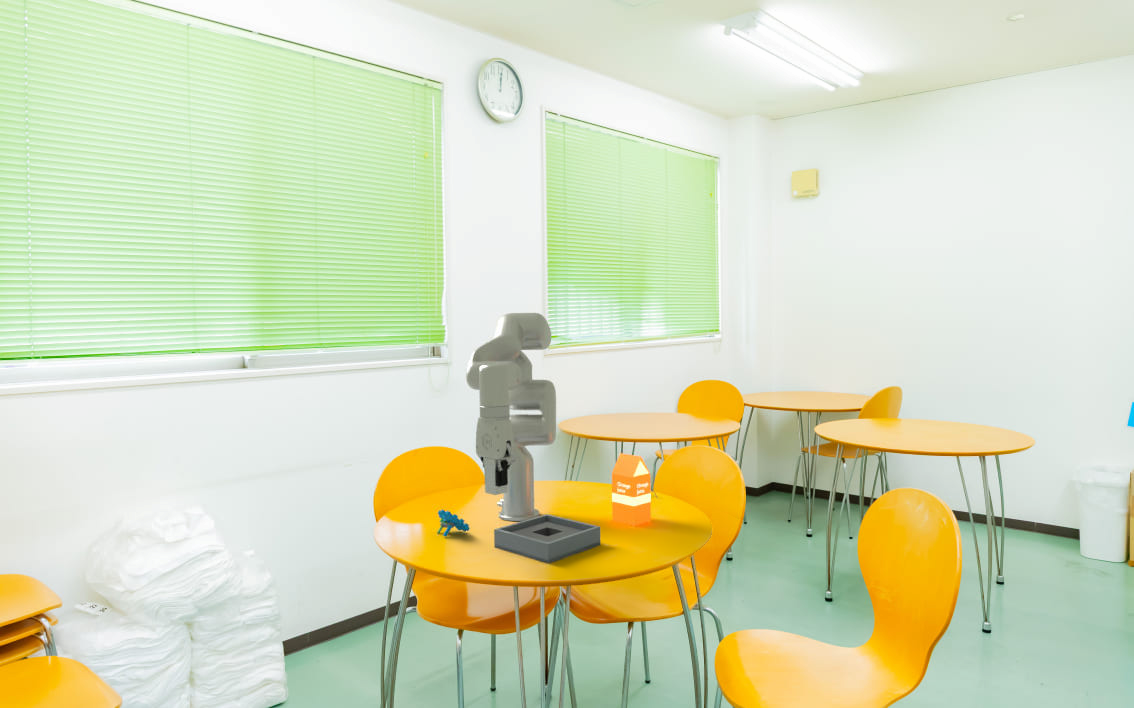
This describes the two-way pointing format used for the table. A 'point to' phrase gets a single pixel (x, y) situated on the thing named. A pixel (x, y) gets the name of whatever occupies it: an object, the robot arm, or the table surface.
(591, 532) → the box
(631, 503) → the orange juice
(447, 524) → the blue bumpy legged piece
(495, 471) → the peg
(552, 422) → the robot arm
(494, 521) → the table surface
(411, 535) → the table surface
